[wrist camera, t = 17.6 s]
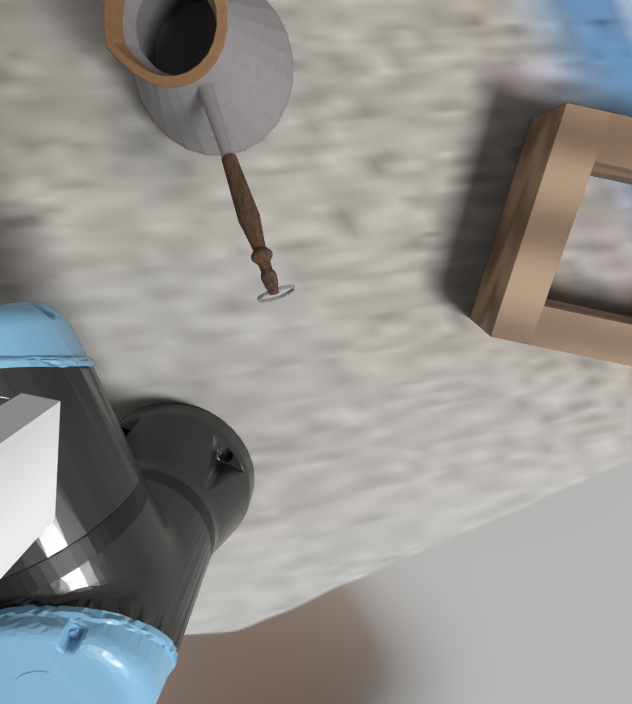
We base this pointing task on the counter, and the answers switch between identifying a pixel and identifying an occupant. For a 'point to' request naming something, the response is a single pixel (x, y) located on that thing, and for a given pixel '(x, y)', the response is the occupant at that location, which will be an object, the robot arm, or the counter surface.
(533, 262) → the walnut box
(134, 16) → the coffee pot
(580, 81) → the counter surface
